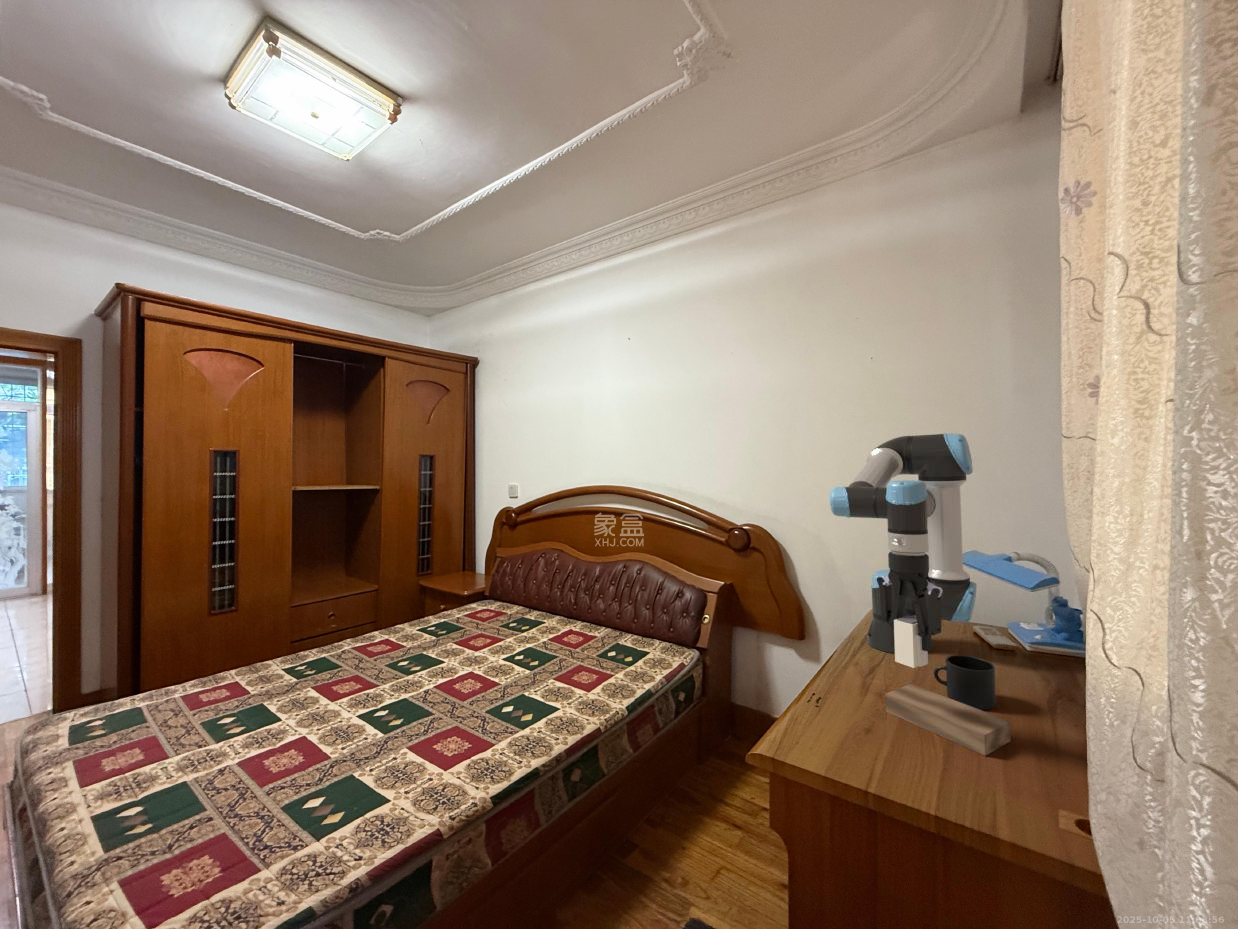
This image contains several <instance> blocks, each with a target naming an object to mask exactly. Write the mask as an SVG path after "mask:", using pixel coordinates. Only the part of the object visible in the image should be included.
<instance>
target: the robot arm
mask: <svg viewBox="0 0 1238 929" xmlns="http://www.w3.org/2000/svg"><path fill="white" fill-rule="evenodd" d="M973 469H974V468H973V461H972V454H971V451H970V446H969V442H968V440H967V438H966V436H964V435H963V434H961V433H946V432H945V433H936V434H934V433H933V434H923V435H922V434H921V435H902V436H898V437H895V438H892V439H889V440H887V441H885V442H883V443H881V444H880V445H878V446H877V447H875V448H874V449H873V450H872V451H871V452H870V453H869V454H868V456H867V458H866V464H865V465H864V466H863V468H862V469H861V471H860V472H859V473H858V474H857V475H856V477H855V478H854V479H853V480H852V482H851V483H850V484H849V485H848V486H843V485H842V486H835V487H833V489H832V490H831V492H830V495H829V508H830V510H831V513H832V515H834V516H836V517H845V518H848V519H849V518H855V519H856V518H861V519H884V520H885V519H886V521H887V547H888V548H887V549H888V550H889V553H888V554H887V557H888V562H887V563H888V568H889V569H881V570H878V571H875V572H874V573H872V576H871V600H872V601H871V604H872V605H871V606H872V619H871V622H870V625H869V628H868V630H867V631H868V632H867V634H866V639H867V640H866V642H867V645H869V646H870V647H872V648H873V649H875V650H879V651H882V652H885V653H890V654H895V639H894V620H896V619H898V618H901V617H905V616H908V615H909V616H912V617H916V618H917V623H918V627H919V632H920V633H918V634H916V650H917V666H918V667H920V668H921V667H923V666H926V665H929V659H928V658H929V656H928V653H929V652H928V651H931V650H932V636H935V635H939V634H942V621H948V622H950V623H953V622H955V623H956V622H957V623H968V622H971V619H972V618H973V613H974V608H975V605H976V604H975V603H976V598H977V586H978V585H977V583H976V582H974V581H971V577H970V574H969V573H968V572H967V571H966V570H964V560H963V559H964V558H963V556H964V555H963V535H962V534H963V533H962V529H963V528H962V504H961V486H962V485H963V484H964V483H965V482H967V475H968V476H969V475H972V474H973ZM899 475H917V478H918V480H914V479H913V480H912V479H911V480H892V479H893V478H895V477H897V476H899Z"/></svg>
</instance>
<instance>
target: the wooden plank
mask: <svg viewBox="0 0 1238 929" xmlns="http://www.w3.org/2000/svg"><path fill="white" fill-rule="evenodd" d="M884 696H885V712H887V714H890V715H893V716H895V717H897V718H900V719H902V720H903V721H906V722H909V723H910V724H913V725H915V726H918V727H919V728H921V729H924V730H926V731H928V732H930V733H933V734H935V735H937V736H940V737H941V738H944V739H946V740H948V741H950V742H953V743H955V744H957V745H959V746H962V747H964V748H966V749H968V750H971V751H973V752H974V753H977V754H980V755H982V756H984V757H986V756H988V755H989V754H992V753H993V752H995V751H996V750H998V749H1000V748H1001V747H1003V746H1005V745H1006V744H1008V743H1010V742H1011V741H1012V740H1011V739H1012V738H1011V721H1010V720H1008V719H1005V718H1002V717H1000V716H997V715H995V714H992V713H990V712H986V711H985V710H979V709H976V708H974V707H971V706H969V705H966V704H963V703H961V702H958V701H955V700H953V699H950V698H948V696H944V695H942V694H939V693H937V692H934V691H931V690H929V689H926V688H923V687H921V686H918V685H916V684H913V683H910V684H906V685H905V686H902V687H899V688H896V689H895V690H891V691H889V692H887V693H885V694H884Z"/></svg>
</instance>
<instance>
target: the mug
mask: <svg viewBox="0 0 1238 929" xmlns="http://www.w3.org/2000/svg"><path fill="white" fill-rule="evenodd" d="M941 670H943V671H945V675H946V676H945V677H946V680H942V679H941V677H940V676H939V673H940V671H941ZM933 676H934V679H935V680H936V681H937V682H938V683H939V684H941V685H943V686H945V687H946V695H947V696H946V697H948V698H950V699H953V700H955V701H958V702H961V703H963V704H966V705H969V706H971V707H974V708H976V709H979V710H982V711H989V710H992V709H994V708H995V707H996V705H997V697H996V695H997V694H996V692H997V691H996V667H995V665H994V664H993V663H991V662H989V661H988V660H985V659H982V658H978V657H974V656H969V655H962V654H959V655H958V654H956V655H955V654H954V655H949V656H946V659H945V665H939V666H937V667H935V669H934V671H933Z"/></svg>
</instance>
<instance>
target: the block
mask: <svg viewBox="0 0 1238 929" xmlns="http://www.w3.org/2000/svg"><path fill="white" fill-rule="evenodd" d="M918 633H920V632H919V627H918V623H917V618H916V617H912V616H909V615H908V616H905V617H901V618H898V619H896V620H894V639H895V653H894V662H895V663H898V664H901V665H904V666H907V667H910V668H913V669H915V668H917V667H919V666H917V650H916V634H918Z"/></svg>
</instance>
